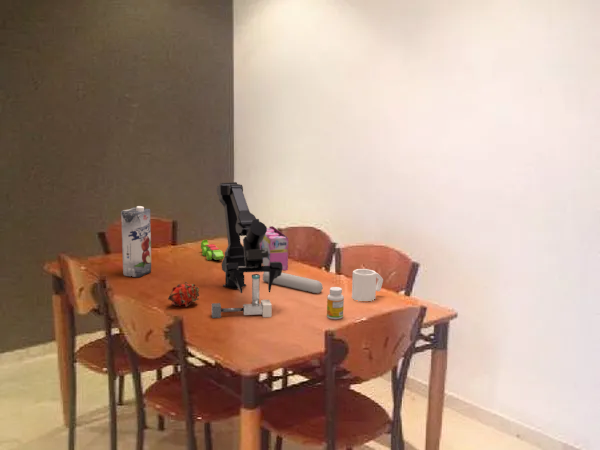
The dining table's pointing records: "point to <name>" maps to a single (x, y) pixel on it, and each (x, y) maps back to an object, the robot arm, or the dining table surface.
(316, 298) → the dining table surface
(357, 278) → the mug
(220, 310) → the rod stand
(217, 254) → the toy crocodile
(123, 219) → the juice carton
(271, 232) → the gum box
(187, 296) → the dragon fruit
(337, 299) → the supplement bottle
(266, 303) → the socket block
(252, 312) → the tube
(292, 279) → the tube
